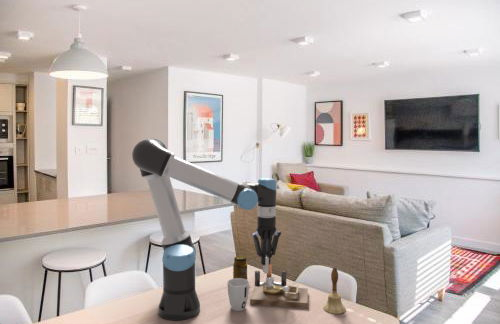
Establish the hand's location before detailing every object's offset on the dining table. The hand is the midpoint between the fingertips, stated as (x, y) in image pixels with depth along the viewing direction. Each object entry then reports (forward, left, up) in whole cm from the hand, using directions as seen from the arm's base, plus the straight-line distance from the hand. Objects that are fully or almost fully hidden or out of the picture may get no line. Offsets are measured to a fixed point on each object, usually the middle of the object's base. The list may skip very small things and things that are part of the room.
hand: (265, 272), depth 162 cm
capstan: (+3, -6, -6) cm, 9 cm away
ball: (+9, -5, -6) cm, 12 cm away
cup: (-9, -16, -9) cm, 20 cm away
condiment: (-12, +6, -9) cm, 16 cm away
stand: (+6, -5, -9) cm, 12 cm away
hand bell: (+27, -11, -9) cm, 31 cm away
